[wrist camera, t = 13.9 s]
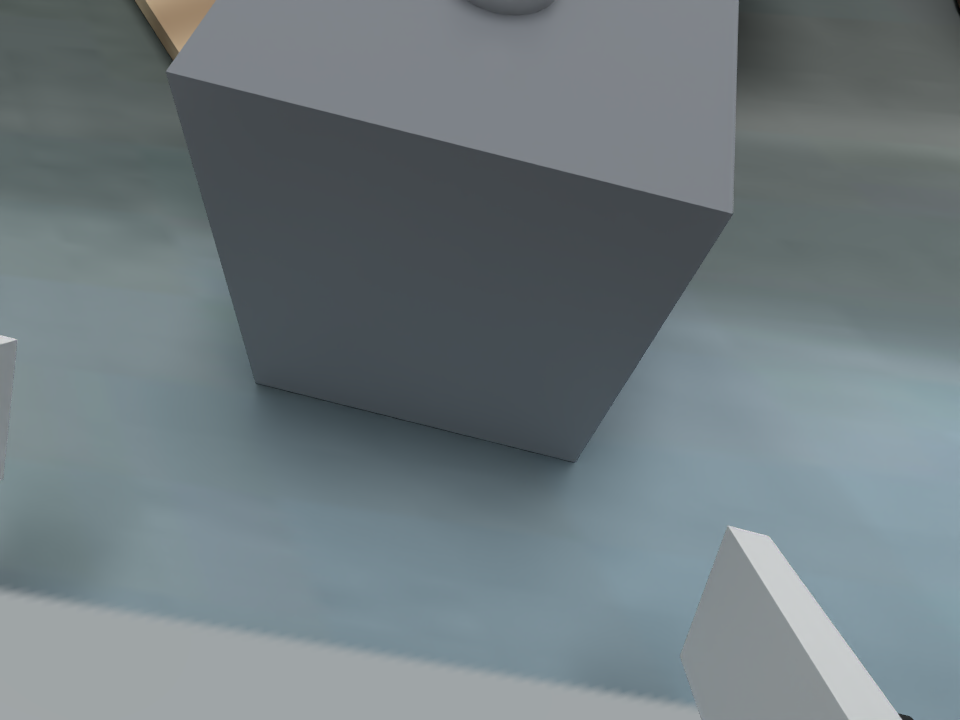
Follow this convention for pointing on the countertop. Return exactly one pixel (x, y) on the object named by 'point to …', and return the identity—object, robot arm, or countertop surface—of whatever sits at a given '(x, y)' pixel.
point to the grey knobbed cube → (461, 196)
